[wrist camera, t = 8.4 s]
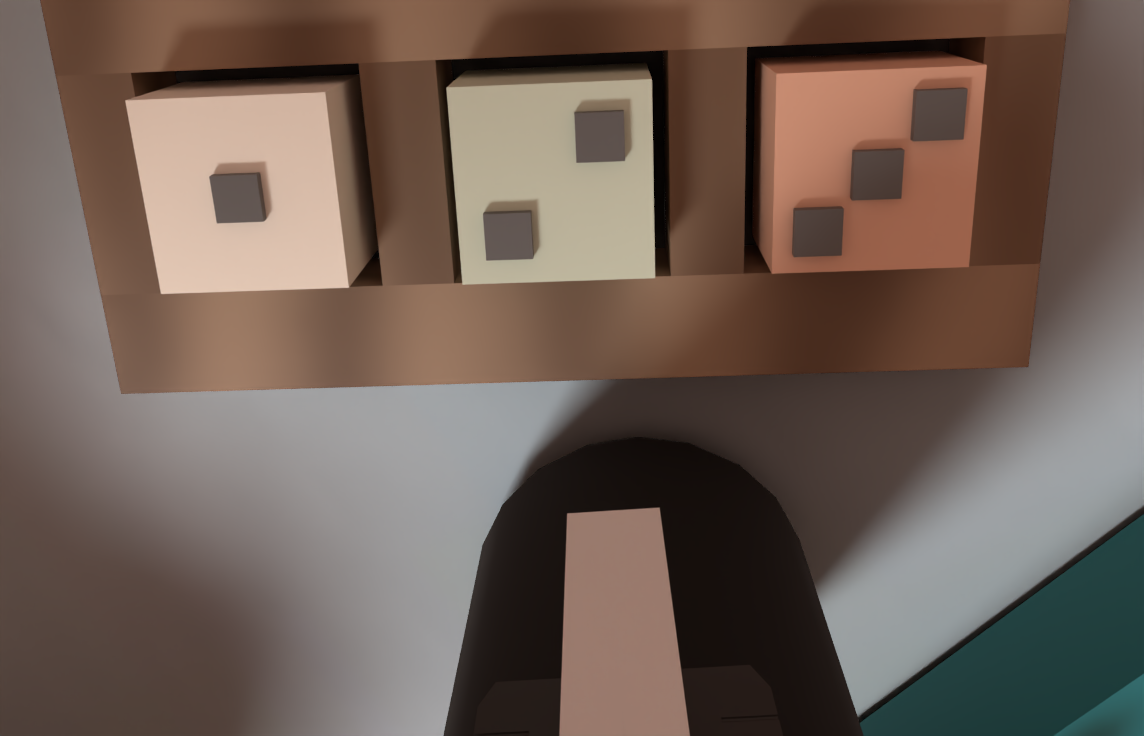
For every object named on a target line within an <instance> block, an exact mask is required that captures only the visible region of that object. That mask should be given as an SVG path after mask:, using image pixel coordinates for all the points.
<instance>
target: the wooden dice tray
mask: <svg viewBox="0 0 1144 736" xmlns="http://www.w3.org/2000/svg"><path fill="white" fill-rule="evenodd" d="M40 2H41V6H42V11H43V16H44V21H45V26H46V31H47V36H48V40H49V45H50V50H51V55H52V60H53V65H54V70H55V74H56V79H57V84H58V89H59V94H60V99H61V104H62V108H63V113H64V118H65V123H66V128H67V133H68V138H69V142H70V147H71V152H72V157H73V162H74V167H75V172H76V176H77V181H78V186H79V191H80V196H81V201H82V206H83V210H84V215H85V220H86V225H87V230H88V235H89V240H90V244H91V249H92V254H93V259H94V264H95V269H96V274H97V278H98V283H99V288H100V293H101V298H102V303H103V308H104V312H105V317H106V322H107V327H108V332H109V337H110V342H111V346H112V351H113V356H114V361H115V366H116V371H117V376H118V380H119V385H120V390H121V394H131V393H164V392H198V391H232V390H266V389H299V388H333V387H367V386H401V385H434V384H468V383H502V382H536V381H570V380H603V379H637V378H671V377H705V376H738V375H772V374H806V373H840V372H873V371H907V370H941V369H975V368H1009V367H1028V365H1029V356H1030V348H1031V339H1032V330H1033V321H1034V312H1035V304H1036V295H1037V286H1038V277H1039V268H1040V260H1041V251H1042V242H1043V233H1044V224H1045V216H1046V207H1047V198H1048V189H1049V180H1050V172H1051V163H1052V154H1053V145H1054V136H1055V128H1056V119H1057V110H1058V101H1059V92H1060V84H1061V75H1062V66H1063V57H1064V48H1065V40H1066V31H1067V22H1068V13H1069V4H1070V0H40ZM945 38H950V43H949V54H952V55H955V56H959V57H962V58H965V59H969V60H972V61H975V62H978V63H982V64H985V65H987V70H986V81H985V92H984V103H983V115H982V126H981V137H980V148H979V159H978V170H977V181H976V193H975V204H974V215H973V226H972V237H971V248H970V260H969V267H957V268H927V269H897V270H867V271H837V272H807V273H777V274H772V273H771V271H770V269H769V267H768V265H767V263H766V261H765V259H764V257H763V255H762V253H761V252H760V250H759V248H758V246H757V245H745V246H744V224H745V151H746V77H747V47H755V46H779V45H802V44H826V43H850V42H874V41H897V40H921V39H945ZM660 50H663V116H664V193H665V248H658V249H655V278H646V279H616V280H586V281H556V282H527V283H497V284H467V285H463V284H462V272H461V260H460V248H459V236H458V223H457V211H456V199H455V187H454V175H453V162H452V150H451V138H450V126H449V114H448V101H447V89H446V87H448V86H449V85H450V84H451V83H452V82H453V74H452V62H451V59H470V58H494V57H517V56H541V55H565V54H589V53H612V52H636V51H660ZM351 63H358V64H359V73H360V82H361V91H362V100H363V110H364V119H365V128H366V137H367V146H368V155H369V165H370V174H371V183H372V192H373V201H374V210H375V219H376V229H377V238H378V247H379V256H380V258H371V259H370V260H369V262H368V263H367V264H366V266H365V267H364V268H363V270H362V271H361V272H360V274H359V275H358V276H357V278H356V279H355V280H354V282H353V283H352V284H351V286H350V287H349V288H325V289H296V290H266V291H236V292H206V293H176V294H161V291H160V286H159V280H158V275H157V270H156V264H155V259H154V253H153V248H152V243H151V237H150V232H149V226H148V221H147V216H146V210H145V205H144V199H143V194H142V189H141V183H140V178H139V172H138V167H137V162H136V156H135V151H134V145H133V140H132V135H131V129H130V124H129V118H128V113H127V108H126V102H125V100H128V99H131V98H134V97H138V96H141V95H144V94H147V93H150V92H153V91H157V90H160V89H163V88H166V87H169V86H172V85H176V84H177V81H176V75H175V71H185V70H209V69H233V68H256V67H280V66H304V65H328V64H351Z"/></svg>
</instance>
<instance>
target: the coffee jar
mask: <svg viewBox="0 0 1144 736" xmlns="http://www.w3.org/2000/svg"><path fill="white" fill-rule="evenodd" d="M646 508H660V515H661V522H662V530H663V537H664V545H665V552H666V560H667V567H668V575H669V582H670V590H671V597H672V605H673V613H674V620H675V628H676V635H677V643H678V650H679V658H680V665H681V669H686V668H704V667H721V666H738V665H751V667H752V668H753V669H754V670H755V671H756V672H757V673H758V674H759V675H760V676H761V677H762V678H763V679H764V681H765V682H766V683H767V684H768V685H769V686H770V687H771V690H772V694H773V697H774V701H775V705H776V709H777V713H778V720H779V721H780V725H781V729H782V733H783V736H864V735H863V732H862V729H861V726H860V723H859V720H858V717H857V714H856V711H855V708H854V705H853V702H852V699H851V696H850V693H849V690H848V687H847V683H846V680H845V677H844V674H843V671H842V668H841V665H840V662H839V659H838V656H837V653H836V650H835V647H834V644H833V641H832V638H831V635H830V632H829V629H828V626H827V623H826V620H825V617H824V614H823V610H822V607H821V604H820V601H819V598H818V595H817V592H816V589H815V586H814V583H813V580H812V577H811V574H810V571H809V568H808V565H807V562H806V559H805V556H804V553H803V550H802V547H801V544H800V541H799V538H798V536H797V535H796V533H795V531H794V529H793V527H792V525H791V524H790V522H789V520H788V518H787V516H786V515H785V513H784V511H783V509H782V507H781V505H780V504H779V502H778V500H777V498H776V497H775V496H774V495H772V494H771V493H770V492H769V491H768V490H767V489H766V488H765V487H763V486H762V485H761V484H760V483H759V482H758V481H757V480H756V479H754V478H753V477H752V476H751V475H750V474H749V473H748V472H747V471H745V470H744V469H743V468H742V467H741V466H740V465H738V464H736V463H733V462H731V461H729V460H727V459H724V458H722V457H720V456H717V455H715V454H713V453H711V452H708V451H706V450H704V449H701V448H699V447H697V446H695V445H692V444H690V443H684V442H676V441H668V440H659V439H651V438H643V437H634V438H628V439H622V440H616V441H610V442H604V443H598V444H592V445H587V446H585V447H583V448H581V449H579V450H577V451H575V452H573V453H571V454H569V455H567V456H565V457H563V458H561V459H559V460H556V461H554V462H552V463H550V464H548V465H546V466H544V467H542V468H540V469H539V470H537V471H536V472H535V473H534V474H533V475H532V476H531V477H530V478H529V479H528V480H527V481H526V482H525V483H524V484H523V485H522V486H521V487H520V488H519V489H518V490H517V491H516V492H515V493H514V494H513V495H512V496H511V497H510V498H509V499H508V500H507V501H506V502H505V503H504V504H503V505H502V507H501V509H500V511H499V513H498V515H497V517H496V519H495V521H494V523H493V525H492V527H491V529H490V531H489V533H488V535H487V537H486V539H485V541H484V543H483V546H482V551H481V556H480V560H479V565H478V570H477V575H476V580H475V585H474V590H473V595H472V599H471V604H470V609H469V614H468V619H467V624H466V629H465V634H464V638H463V643H462V648H461V653H460V658H459V663H458V668H457V673H456V677H455V682H454V687H453V692H452V697H451V702H450V707H449V712H448V716H447V721H446V726H445V731H444V736H474V728H475V721H476V714H477V707H478V705H479V704H480V703H481V701H482V700H483V699H484V697H485V696H486V695H487V693H488V692H489V691H490V689H491V688H492V687H493V685H494V684H495V682H504V681H521V680H539V679H556V678H561V676H562V648H563V620H564V591H565V563H566V534H567V513H583V512H598V511H614V510H630V509H646Z"/></svg>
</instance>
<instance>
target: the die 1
mask: <svg viewBox="0 0 1144 736" xmlns="http://www.w3.org/2000/svg"><path fill="white" fill-rule="evenodd" d="M125 102H126V108H127V113H128V118H129V124H130V129H131V135H132V140H133V145H134V151H135V156H136V162H137V167H138V172H139V178H140V183H141V189H142V194H143V199H144V205H145V210H146V216H147V221H148V226H149V232H150V237H151V243H152V248H153V253H154V259H155V264H156V270H157V275H158V280H159V286H160V291H161V294H176V293H206V292H236V291H266V290H296V289H325V288H349V287H350V286H351V284H352V283H353V282H354V280H355V279H356V278H357V276H358V275H359V274H360V272H361V271H362V270H363V268H364V267H365V266H366V264H367V263H368V262H369V260H370V259H371V258H372V256H373V255H374V254H375V252H376V251H377V250H378V240H377V231H376V222H375V213H374V203H373V194H372V185H371V176H370V167H369V158H368V149H367V139H366V130H365V121H364V112H363V103H362V94H361V84H360V75H340V76H316V77H292V78H268V79H244V80H220V81H196V82H182V83H179V84H176V85H172V86H169V87H166V88H163V89H160V90H157V91H153V92H150V93H147V94H144V95H141V96H138V97H134V98H131V99H128V100H125Z"/></svg>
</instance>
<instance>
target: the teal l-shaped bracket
mask: <svg viewBox="0 0 1144 736" xmlns="http://www.w3.org/2000/svg"><path fill="white" fill-rule="evenodd" d="M860 726H861V729H862V732H863V735H864V736H1144V514H1143V515H1142V516H1140V517H1139V518H1138V519H1136V520H1135V521H1134V522H1132V523H1131V524H1129V525H1128V526H1127V527H1125V528H1124V529H1123V530H1121V531H1120V532H1119V533H1117V534H1116V535H1115V536H1113V537H1112V538H1110V539H1109V540H1108V541H1106V542H1105V543H1104V544H1102V545H1101V546H1100V547H1098V548H1097V549H1095V550H1094V551H1093V552H1091V553H1090V554H1089V555H1087V556H1086V557H1085V558H1083V559H1082V560H1081V561H1079V562H1078V563H1076V564H1075V565H1074V566H1072V567H1071V568H1070V569H1068V570H1067V571H1066V572H1064V573H1063V574H1061V575H1060V576H1059V577H1057V578H1056V579H1055V580H1053V581H1052V582H1051V583H1049V584H1048V585H1047V586H1045V587H1044V588H1042V589H1041V590H1040V591H1038V592H1037V593H1036V594H1034V595H1033V596H1032V597H1030V598H1029V599H1028V600H1026V601H1025V602H1023V603H1022V604H1021V605H1019V606H1018V607H1017V608H1015V609H1014V610H1013V611H1011V612H1010V613H1008V614H1007V615H1006V616H1004V617H1003V618H1002V619H1000V620H999V621H998V622H996V623H995V624H994V625H992V626H991V627H989V628H988V629H987V630H985V631H984V632H983V633H981V634H980V635H979V636H977V637H976V638H974V639H973V640H972V641H970V642H969V643H968V644H966V645H965V646H964V647H962V648H961V649H960V650H958V651H957V652H955V653H954V654H953V655H951V656H950V657H949V658H947V659H946V660H945V661H943V662H942V663H941V664H939V665H938V666H936V667H935V668H934V669H932V670H931V671H930V672H928V673H927V674H926V675H924V676H923V677H921V678H920V679H919V680H917V681H916V682H915V683H913V684H912V685H911V686H909V687H908V688H907V689H905V690H904V691H902V692H901V693H900V694H898V695H897V696H896V697H894V698H893V699H892V700H890V701H889V702H887V703H886V704H885V705H883V706H882V707H881V708H879V709H878V710H877V711H875V712H874V713H873V714H871V715H870V716H868V717H867V718H866V719H864V720H863V721H862V722H860Z"/></svg>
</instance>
